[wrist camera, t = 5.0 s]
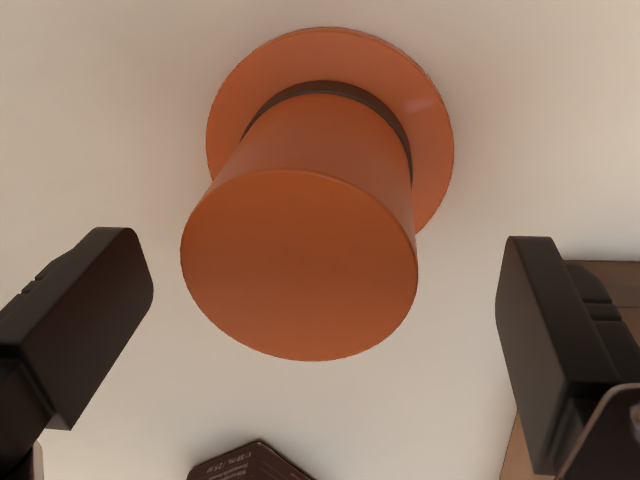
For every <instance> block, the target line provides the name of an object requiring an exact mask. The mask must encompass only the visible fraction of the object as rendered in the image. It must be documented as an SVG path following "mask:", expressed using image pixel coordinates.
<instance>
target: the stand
mask: <svg viewBox="0 0 640 480" xmlns="http://www.w3.org/2000/svg"><path fill="white" fill-rule="evenodd" d="M564 263H580V264H581V265H582V266H584V267H585V268H586V269H587V270H589V271H590V272H591V273H592V274H594V275H595V276H596V277H597V278H599V279H600V280H601V282H602V283H603V285H604V287H605V288H606V290H607V292H608V294H609V295H610V297H611V299H612V304H615V306H616V308H617V309H618V311H619V313H620V315H621V316H622V322H625V323H626V325H627V327H628V329H629V330H630V332H631V334H632V335H633V337H634V339H635V341H636V342H637V344H638V346H639V348H640V263H639V262H589V261H564ZM554 478H555V476H547V475H536V474H533V470H532V466H531V462H530V457H529V453H528V449H527V445H526V441H525V437H524V433H523V429H522V425H521V421H520V417H519V413H518V412H517V415H516V419H515V423H514V427H513V431H512V434H511V438H510V442H509V446H508V449H507V453H506V457H505V461H504V465H503V468H502V472H501V476H500V480H553V479H554Z"/></svg>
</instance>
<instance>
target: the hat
mask: <svg viewBox="0 0 640 480" xmlns="http://www.w3.org/2000/svg"><path fill="white" fill-rule="evenodd" d="M206 154H207V162H208V167H209V170H210V174H211V178H212V181H213V182H212V184H211V185H210V187H209V188H208V190H207V191H206V192H205V194H204V195H203V197H202V198H201V200H200V201H199V203H198V204H197V205H196V207H195V208H194V210H193V211H192V213H191V214H190V216H189V218H188V220H187V222H186V225H185V228H184V231H183V234H182V239H181V247H180V258H181V267H182V272H183V277H184V279H185V282H186V285H187V288H188V290H189V292H190V294H191V296H192V298H193V299H194V301H195V302H196V304H197V305H198V307H199V308H200V309H201V311H202V312H203V313H204V314H205V315H206V316H207V318H208V319H209V320H210V321H211V322H213V323H214V324H215V325H216V326H217V327H218V328H219V329H220V330H222V331H223V332H224V333H226V334H227V335H228V336H230V337H232V338H233V339H235V340H236V341H238V342H240V343H242V344H244V345H246V346H248V347H250V348H252V349H254V350H257V351H259V352H262V353H265V354H268V355H271V356H275V357H279V358H284V359H289V360H297V361H328V360H336V359H341V358H346V357H349V356H352V355H356V354H358V353H361V352H363V351H365V350H368V349H370V348H372V347H373V346H375V345H377V344H379V343H380V342H382V341H383V340H384V339H386V338H387V337H388V336H389V335H391V334H392V333H393V332H394V331H395V330H396V329H397V328H398V327H399V325H400V324H401V323H402V321H403V320H404V319H405V317H406V316H407V314H408V312H409V310H410V308H411V306H412V304H413V301H414V298H415V295H416V292H417V285H418V261H417V250H416V239H415V235H416V234H417V233H418V232H419V231H420V230H421V229H422V228H423V227H424V226H425V225H426V224H427V222H428V221H429V220H430V219H431V218H432V216H433V215H434V213H435V212H436V210H437V209H438V207H439V206H440V204H441V202H442V200H443V198H444V196H445V194H446V191H447V188H448V185H449V182H450V179H451V175H452V169H453V163H454V142H453V134H452V128H451V125H450V121H449V117H448V114H447V111H446V108H445V106H444V103H443V101H442V99H441V96H440V94H439V93H438V91H437V89H436V88H435V86H434V84H433V83H432V81H431V80H430V78H429V77H428V76H427V75H426V74H425V72H424V71H423V70H422V69H421V68H420V66H418V65H417V64H416V63H415V62H414V61H413V60H412V59H411V58H410V57H408V56H407V55H406V54H405V53H403V52H402V51H400V50H399V49H397V48H396V47H394V46H393V45H391V44H389V43H387V42H385V41H383V40H381V39H379V38H377V37H375V36H372V35H369V34H366V33H363V32H359V31H355V30H350V29H344V28H331V27H318V28H310V29H302V30H298V31H295V32H291V33H287V34H284V35H282V36H280V37H277V38H275V39H273V40H270V41H269V42H267V43H265V44H264V45H262V46H260V47H259V48H257V49H256V50H254V51H253V52H252V53H251V54H250V55H248V56H247V57H246V58H245V59H244V60H242V61H241V62H240V63H239V64H238V65H237V66H236V67H235V69H234V70H233V71H232V72H231V73H230V74H229V75H228V77H227V78H226V80H225V81H224V83H223V84H222V86H221V87H220V89H219V91H218V93H217V95H216V97H215V99H214V102H213V104H212V107H211V110H210V114H209V117H208V122H207V130H206Z"/></svg>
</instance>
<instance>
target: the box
mask: <svg viewBox="0 0 640 480" xmlns="http://www.w3.org/2000/svg"><path fill="white" fill-rule="evenodd" d="M186 480H311V479H309V478H308V477H306V476H305V475H303V474H302V473H301V472H299V471H298V470H297V469H296V468H294V467H293V466H292V465H290V464H289V463H287V462H286V461H285V460H283V459H282V458H281V457H280V456H278V455H277V454H276V453H275V452H274V451H273V450H271V449H269V448H268V447H267V446H265V445H264V444H262V443H260V442H257V443H254V444H250V445H248V446H245V447H243V448H240V449H238V450H235V451H233V452H230V453H228V454H225V455H223V456H221V457H218V458H216V459H214V460H211V461H209V462H207V463H205V464H203V465H201V466H199V467H196V468H194V469H192V470H191V471H190V472H189V474H188V477H187V479H186Z"/></svg>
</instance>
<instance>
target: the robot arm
mask: <svg viewBox="0 0 640 480" xmlns="http://www.w3.org/2000/svg"><path fill="white" fill-rule="evenodd" d="M21 291H22V293H21V294H17V295H16V296H15V297H14V298H13V299H12V300H11V301H10V302H9V303H8V304H7V305H6V306H5V307H4V308H3V309H2V310H1V311H0V480H44V470H43V455H42V447H41V445H40V443H39V442H38V440H37V438H38V437H39V435H40V434H41V433H42V431H43V430H44V428H47V429H58V430H69V431H71V429H72V428H73V426H74V425H75V423H76V422H77V420H78V419H79V417H80V415H81V414H82V412H83V411H84V409H85V408H86V406H87V405H88V403H89V401H90V400H91V398H92V397H93V395H94V394H95V392H96V391H97V389H98V388H99V386H100V384H101V383H102V381H103V380H104V378H105V377H106V375H107V374H108V372H109V370H110V369H111V367H112V366H113V364H114V363H115V361H116V360H117V358H118V357H119V355H120V353H121V352H122V350H123V349H124V347H125V346H126V344H127V343H128V341H129V339H130V338H131V336H132V335H133V333H134V332H135V330H136V329H137V327H138V326H139V324H140V322H141V321H142V319H143V318H144V316H145V315H146V313H147V312H148V310H149V308H150V306H151V303H152V300H153V291H154V289H153V282H152V279H151V276H150V272H149V269H148V266H147V263H146V260H145V257H144V254H143V251H142V248H141V245H140V242H139V239H138V236H137V234H136V233H135V231H134V230H133V229H131V228H122V227H96V228H94V229H92V230H91V231H90V232H89V233H88V234H87V235H86V236H85V237H84V238H83V239H82V240H81V241H80V242H79V243H78V244H77V245H76V246H75V247H74V248H73V249H71V250H70V251H68V252H66V253H65V254H63V255H61V256H60V257H58V258H56V259H55V260H53V261H51V262H50V263H49V264H48V265H47V266H46V267H45V268H44V269H43V270H42V271H41V272H40V273H39V274H38V275H37V276H36V277H35V281H31V282H30V283H29V284H28V285H27V286H25V287H24V288H23V289H22V290H21ZM495 317H496V325H497V329H498V333H499V337H500V341H501V345H502V349H503V353H504V357H505V361H506V365H507V369H508V373H509V377H510V381H511V385H512V389H513V393H514V397H515V401H516V405H517V409H518V413H519V417H520V421H521V425H522V429H523V433H524V437H525V441H526V445H527V449H528V453H529V457H530V462H531V466H532V470H533V474H536V475H547V476H555V478H554V479H553V480H640V348H639V346H638V344H637V342H636V341H635V339H634V337H633V335H632V334H631V332H630V330H629V329H628V327H627V325H626V323H625V322H622V316H621V315H620V313H619V311H618V309H617V308H616V306H615V304H612V299H611V297H610V295H609V294H608V292H607V290H606V288H605V287H604V285H603V283H602V282H601V280H600V279H599V278H597V277H596V276H595V275H594V274H592V273H591V272H590V271H589V270H587V269H586V268H585V267H584V266H582V265H581V264H580V263H564V261H563V259H562V257H561V255H560V253H559V251H558V249H557V247H556V245H555V243H554V241H553V240H552V238H551V237H536V236H509V237H508V239H507V241H506V245H505V250H504V255H503V261H502V266H501V271H500V277H499V282H498V288H497V293H496V301H495Z"/></svg>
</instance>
